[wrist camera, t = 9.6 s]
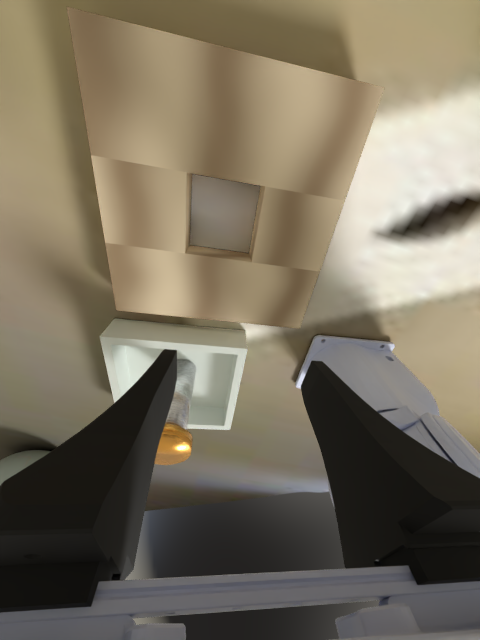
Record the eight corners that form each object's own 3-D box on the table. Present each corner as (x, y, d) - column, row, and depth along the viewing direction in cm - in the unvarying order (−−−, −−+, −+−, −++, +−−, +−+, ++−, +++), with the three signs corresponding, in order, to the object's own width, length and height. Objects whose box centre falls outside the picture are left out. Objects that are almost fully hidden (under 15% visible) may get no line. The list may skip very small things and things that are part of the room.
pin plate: (361, 101, 14) (384, 87, 12) (292, 314, 22) (299, 328, 20) (94, 37, 12) (66, 6, 10) (127, 297, 20) (116, 310, 18)
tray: (245, 330, 23) (247, 348, 21) (229, 408, 30) (230, 429, 27) (114, 318, 22) (99, 336, 19) (129, 403, 28) (119, 425, 26)
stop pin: (202, 356, 24) (192, 437, 16) (200, 382, 26) (189, 465, 19) (163, 352, 24) (133, 435, 16) (164, 380, 26) (138, 464, 18)
